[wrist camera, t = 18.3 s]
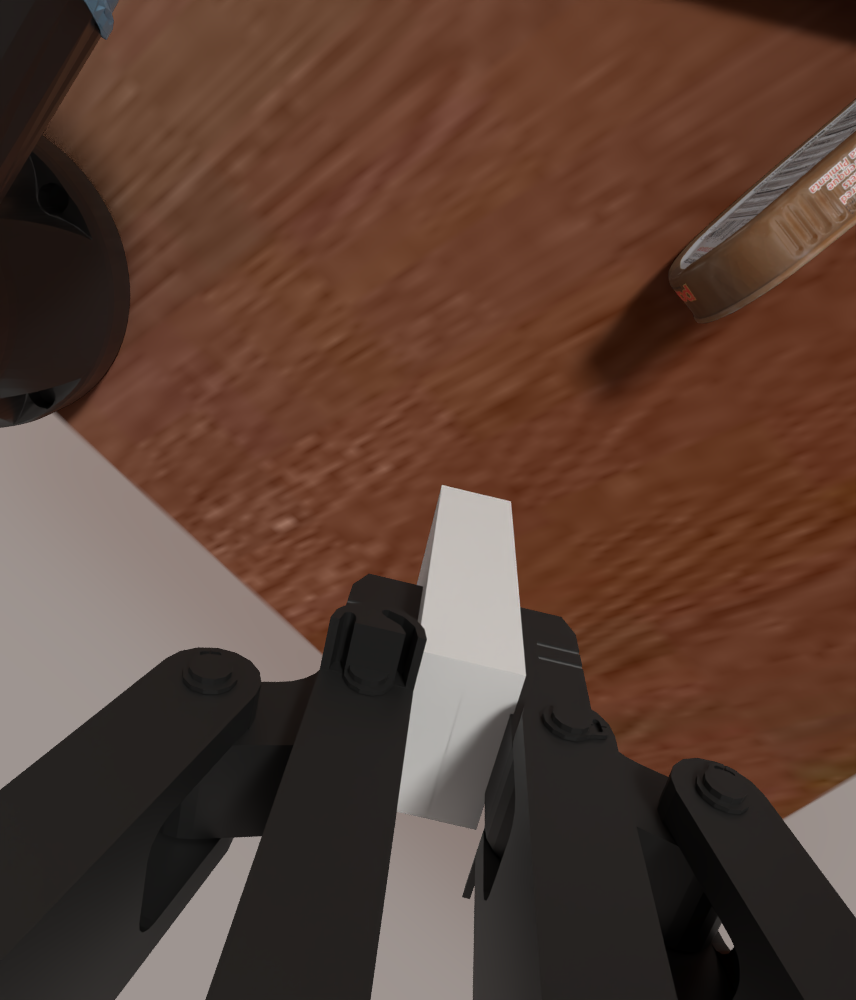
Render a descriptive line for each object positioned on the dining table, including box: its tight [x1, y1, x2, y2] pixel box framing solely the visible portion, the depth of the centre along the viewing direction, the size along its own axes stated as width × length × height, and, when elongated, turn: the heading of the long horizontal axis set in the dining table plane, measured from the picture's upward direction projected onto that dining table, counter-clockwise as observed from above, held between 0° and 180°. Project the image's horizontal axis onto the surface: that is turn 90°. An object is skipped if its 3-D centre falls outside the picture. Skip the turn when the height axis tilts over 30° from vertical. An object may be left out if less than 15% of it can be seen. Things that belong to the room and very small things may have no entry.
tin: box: [669, 99, 856, 323], centre depth 32 cm, size 15×3×8 cm, turn 133°
